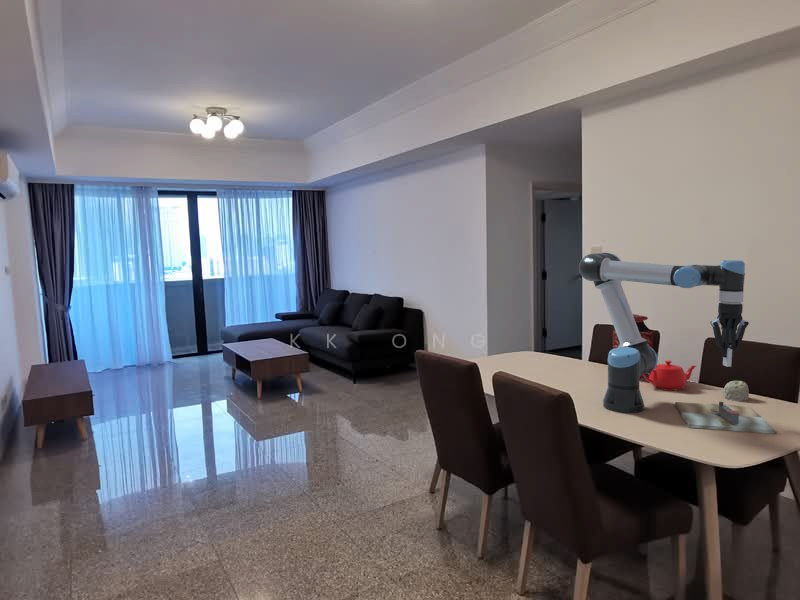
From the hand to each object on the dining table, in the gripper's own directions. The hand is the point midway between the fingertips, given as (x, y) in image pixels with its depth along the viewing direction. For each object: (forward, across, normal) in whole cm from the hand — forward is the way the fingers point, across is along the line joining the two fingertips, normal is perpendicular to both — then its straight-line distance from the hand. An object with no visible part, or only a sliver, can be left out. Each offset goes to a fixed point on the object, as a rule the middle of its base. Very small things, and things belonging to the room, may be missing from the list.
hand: (727, 365), depth 194 cm
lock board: (+19, +2, +2) cm, 20 cm away
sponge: (+20, -18, -23) cm, 35 cm away
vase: (+21, +6, -66) cm, 69 cm away
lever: (+18, +4, +8) cm, 20 cm away
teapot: (+20, -1, -42) cm, 47 cm away
